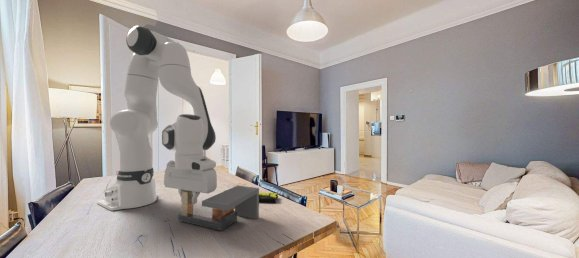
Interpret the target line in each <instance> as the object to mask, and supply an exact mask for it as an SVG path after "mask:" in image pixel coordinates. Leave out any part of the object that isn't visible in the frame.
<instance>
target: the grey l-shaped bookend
mask: <svg viewBox="0 0 579 258" xmlns="http://www.w3.org/2000/svg"><path fill="white" fill-rule="evenodd" d="M259 192H260V188H259V187H253V186H245V185H244V186H243V185H236V186H233V187H231V188H228V189H227V190H224V191H222V192H220V193H217V194H215V195H212V196H210V197H208V198H206V199H203V200H201V207H205V208H211V209H212V208H216V209H222V210H227V211H228V210H229V209H231V208H233V207H235V209H234V211H237V217H243V218H249V219H255V220H257V219H259V217H260V216H259V215H260V214H259V213H260V212H259V211H260V209H259V208H260V205H259V204H260V203H259Z"/></svg>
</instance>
